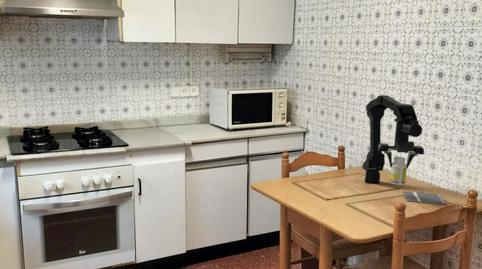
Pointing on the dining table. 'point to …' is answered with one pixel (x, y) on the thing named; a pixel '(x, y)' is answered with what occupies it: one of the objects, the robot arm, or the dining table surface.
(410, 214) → the dining table surface
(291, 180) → the dining table surface
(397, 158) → the pill bottle
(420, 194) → the mat
